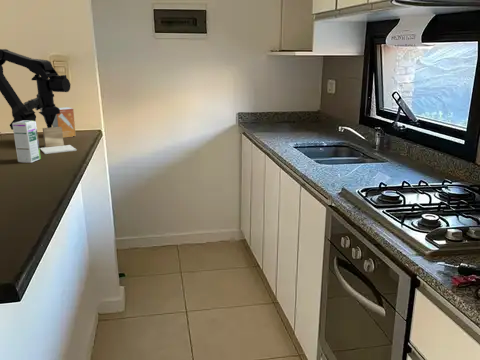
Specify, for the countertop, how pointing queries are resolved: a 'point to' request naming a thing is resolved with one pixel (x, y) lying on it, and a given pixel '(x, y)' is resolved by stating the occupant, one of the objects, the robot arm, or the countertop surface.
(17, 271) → the countertop surface
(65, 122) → the small box
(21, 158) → the syrup box
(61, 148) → the flat white panel
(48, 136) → the beige and teal box
